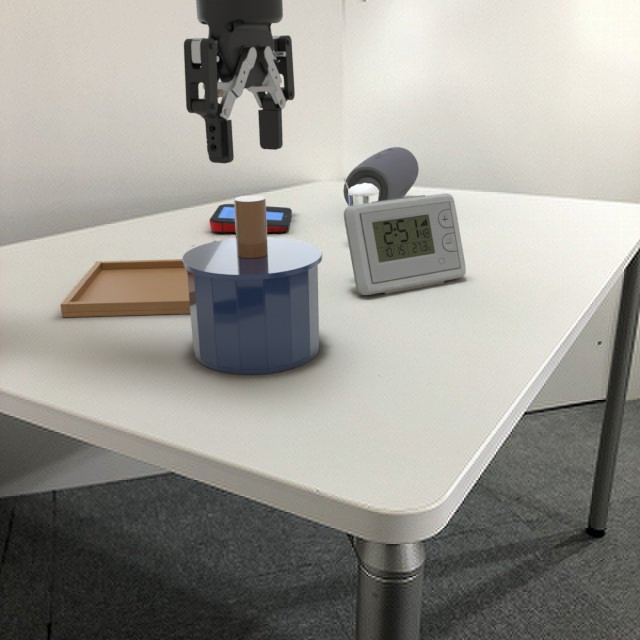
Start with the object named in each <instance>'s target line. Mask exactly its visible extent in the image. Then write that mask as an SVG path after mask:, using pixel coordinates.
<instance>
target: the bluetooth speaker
mask: <svg viewBox="0 0 640 640" xmlns="http://www.w3.org/2000/svg"><path fill="white" fill-rule="evenodd" d="M419 167H420V166H419V162H418V160H417V158H416V156H415V155H414V154H413V153H412V151H410V150H408V149H407V148H405V147H401V146H400V147H399V146H393V147H389V148H385V149H383V150H380V151H378V152H376V153H373V155H370V156H369V157H367V158H365V160H363V161H361V162H360V163H359V164H358V165H357V166H355V167H354V168H353V169H352V170H351V171H350V172H349V174H348V175H347V177H346V178H345V180H346V183H347V185H348V188H349V189H350V188H351V187H352V186H355V185H357V184H363V183H368V184H369V183H370V184H373V185H374V186H376V187H377V188H378V190H379V197H378V201H382V200H390V199H398V198H405V196H406V195H407V194H408V192H409V191H410V190H411V189H412V187H413V186H414V184H415V183H416V181H417V179H418V177H419V172H420V169H419ZM342 191H343V197H344V200H345V202H346V204H347V207H349V197H348V189H347V186H346V184H345V183H344V184H343V190H342Z"/></svg>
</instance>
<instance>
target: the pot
mask: <svg viewBox="0 0 640 640" xmlns="http://www.w3.org/2000/svg"><path fill="white" fill-rule="evenodd" d="M318 265H319V264H318ZM318 265H317V266H315V267H314V268H312V269H310V270H307V271H304V272H301V273H298V274H294V275H290V276H285V277H279V278H271V279H261V280H225V279H216V278H209V277H204V276H200V275H197V274H194V273H192V272H189V271H188V270H187V276H188V288H189V301H190V313H191V314H190V322H191V336H192V349H193V353H194V357H195V359H196V360H197V361H198V362H199V363H200V364H201V365H203V366H205V367H207V368H209V369H211V370H213V371H216V372H217V371H218V372H222V373H225V374H227V373H228V374H235V375H266V374H267V375H268V374H273V373H280V372H284V371H288V370H292V369H295V368H297V367H301V366H303V365H305V364H306V363H308V362H311V360H313V359H314V358H315V357H316V356H317V354H318V352H319V349H320V320H319V319H320V317H319V270H318V269H319V268H318V267H319V266H318Z"/></svg>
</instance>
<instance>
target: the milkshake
mask: <svg viewBox="0 0 640 640" xmlns="http://www.w3.org/2000/svg"><path fill="white" fill-rule="evenodd" d="M342 179H343V181H344V184H346V186H347V189H348V197H349V206H352V205H359V204H367V203H371V202H374V201H378V197H379V190H378V188H377V187H376V186H374V185H373V184H370V183H369V184H368V183H363V184H357V185H355V186H352V187H351V188H350V189H349V188H348V185H347V183H346V178H345V176H343V177H342ZM349 206H348V207H349Z"/></svg>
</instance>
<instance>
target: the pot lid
mask: <svg viewBox="0 0 640 640" xmlns="http://www.w3.org/2000/svg"><path fill="white" fill-rule="evenodd" d="M233 204H234V209H235V226H236V233H235V238H228V239H222V240H216V241H212V242H208V243H204V244H200V245H198V246H195V247H193V248H190V249H189V250H187V251H186V252H185V253H184V254H183V255H182V258H181V259H182V264H183V267H184V268H185V269H186V270H188V271H189V272H192V273H194V274H197V275H200V276H204V277H209V278H216V279H225V280H261V279H271V278H279V277H285V276H290V275H294V274H298V273H301V272H304V271H307V270H310V269H312V268H314V267H315V266H317V265H319V264H321V263H322V261H323V252H322V249H321V248H319V247H318V246H317V245H315V244H313V243H310V242H308V241H304V240H299V239H294V238H288V237H286V238H285V237H277V236H276V237H273V236H268V233H267V220H266V206H267V201H266V197H265V196H261V195H241V196H236V197H234V199H233Z"/></svg>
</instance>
